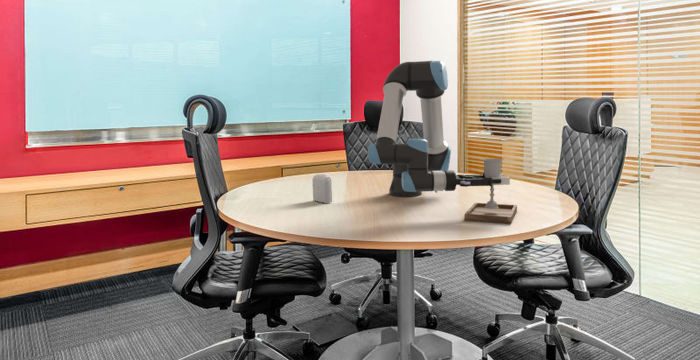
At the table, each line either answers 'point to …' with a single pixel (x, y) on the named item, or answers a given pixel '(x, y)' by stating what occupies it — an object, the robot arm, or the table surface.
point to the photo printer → (322, 188)
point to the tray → (491, 213)
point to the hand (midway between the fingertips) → (506, 179)
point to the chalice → (492, 170)
